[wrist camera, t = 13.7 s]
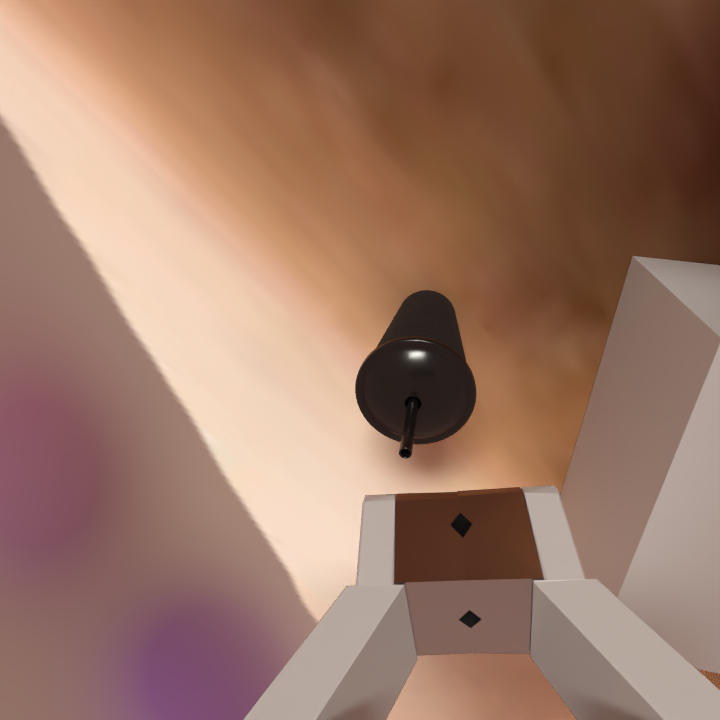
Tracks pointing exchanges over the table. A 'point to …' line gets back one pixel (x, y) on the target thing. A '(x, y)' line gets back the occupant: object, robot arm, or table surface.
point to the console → (656, 457)
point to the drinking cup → (418, 375)
